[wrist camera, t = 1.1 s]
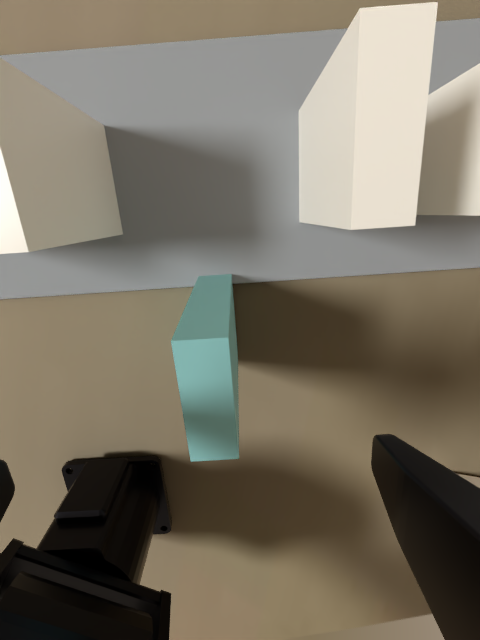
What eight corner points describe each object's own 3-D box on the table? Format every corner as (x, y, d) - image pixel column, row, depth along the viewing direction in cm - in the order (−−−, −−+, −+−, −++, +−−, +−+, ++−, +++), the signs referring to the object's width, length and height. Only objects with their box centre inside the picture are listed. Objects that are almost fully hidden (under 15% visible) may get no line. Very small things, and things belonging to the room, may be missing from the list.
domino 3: (337, 108, 15) (438, 1, 7) (334, 219, 17) (415, 225, 9) (298, 110, 15) (359, 8, 8) (299, 222, 17) (351, 229, 9)
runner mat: (524, 263, 18) (528, 264, 17) (-136, 307, 18) (-142, 308, 18) (576, 14, 14) (583, 10, 14) (-239, 77, 15) (-249, 74, 15)
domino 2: (231, 273, 17) (228, 337, 10) (237, 355, 19) (239, 458, 12) (198, 276, 17) (171, 341, 10) (207, 357, 19) (190, 461, 12)
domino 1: (104, 125, 15) (-29, 38, 8) (123, 234, 17) (28, 252, 9) (66, 128, 15) (-104, 44, 8) (88, 236, 17) (-34, 256, 9)
